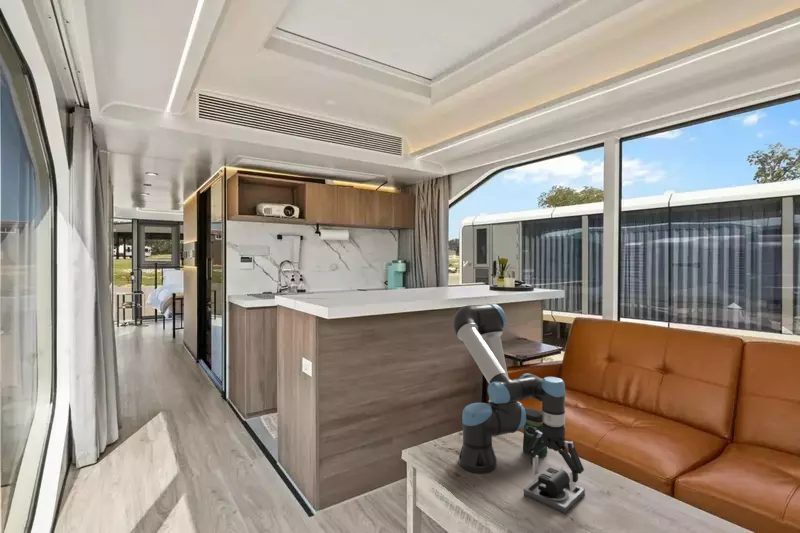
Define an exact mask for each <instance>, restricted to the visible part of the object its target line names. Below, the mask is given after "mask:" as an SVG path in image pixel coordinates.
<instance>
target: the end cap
mask: <svg viewBox="0 0 800 533" xmlns="http://www.w3.org/2000/svg"><path fill="white" fill-rule="evenodd" d="M545 471H546V472H547V473H550V474H551V475H550V474H549V475H546V474H547V473H546V474H544V473H541V474H540V475H538V482H540V483H543V484H545V485H546V486H543V485H542V486H541V485H538V489H539V490H540V491H539V494H540V495H543V496H545V497H547V498H554V497H556V496H557V495H558V494H559V493H560V492H561V491H562V490H563V489H564V488H565V487H567V486H568V485H569V483H570V474H568V473H567V472H566V470H564V469H563V468H560V469H559V470H558V469H554V468H553V467H549V468H547V469H546V470H545Z"/></svg>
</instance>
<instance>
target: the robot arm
mask: <svg viewBox="0 0 800 533" xmlns="http://www.w3.org/2000/svg"><path fill="white" fill-rule="evenodd" d="M452 323H453V324H452V326H453V327H452V328H453V331H454V333H455V335H456V337H457V338H458V340H460V341H462V342H463V344H464V345H465V347H466V349H467V350H468V351H469V354H470V355H471V357H472V358H473V360H474V362H475V363H476V365H477V366H478V369H479V370H480V371H481V374H482V375H483V376H484V378H485V379H486V381H487V383H488V385H487V394H488V398H489V399H488V403H486V402H474V403H473V402H472V403H470V404H468V405H466V406H465V407H464V408H463V410H462V417H461V423H462V446H461V449H460V452H459V455H458V465H459V466H460V468H461V469H463V470H465V471H467V472H469V473H470V472H471V473H474V474H476V473H477V474H487V473H490V472H493V471H494V470H496V468H497V466H498V463H497V462H498V461H497V456H496V454H495V450H494V448H493V437H497V436H501V435H507V434H514V433H516V432H519V431H521V430H524V425H525V423H526V412H525V409H526V408H525V407H524V406H523V403H521V402H520V401H523V400H528V399H535V400H538V402H539V401H540V402H541V411H542V421H543V422H542V432H543V433H542V432H540V430H536V431H535V432H534V436H533V439H532V440H531V442H530V444H529V446H528V448H527V449H526V453H527V455H529V454H530V455H529V456H530V465H531V466H532V476H533V477H536V476H537V475H538V474H539V457H538V456H537V455H536V454H537V453H538V452H540V451H541V450H542V449H543V448H544V447H545V446H547V449H549V450H553V451H555V452H558V453H559V455H560V456H561V457H562V458H563V461H564V462H565V463H566V465H567V467H568V468H569V469H570V471H569V478H570V491H571V492H572V491H573V490H575V485H576V483H578V480H579V474H582V473H583V472H584V471H585V469H584V466H583V464H582V461H581V459H580V456H579V454H578V452H577V450H576V446H575V441H573V440H571V441H567V440H566V437H565V436H566V425H565V424H566V393H567V392H566V384H565V381H564V380H563V379H562V378H560V377H556V376H545V377H544V378H541V377H539V376H538V375H536V374H532V373H529V372H528V373H523V374H522V375H520V376H519V378H513V379H511V378H510V377H509V373H508V369H507V364H506V358H505V353H504V347H503V344H502V343H503V342H502V339H501V336H502V335H503V333H504V331H503V330H504V329H505V327H506V323H507V317H506V313H505V312H504V310H503V308H502V307H501V306H500V305H498V304H497V303H481V304H473V305H472V304H471V305H469V304H468V305H465V306H462V307H460V308H459V309H458V310H457V311H456V313H455V315H454V317H453V321H452ZM540 437H542V439H543V441H544V442H543V443H542V444H541V445H540V446H539V447H538V448H537V449H535V450H534V451H532V450H533V448H534V446H535V444H536V442H537V441H538V439H539V438H540ZM526 453H525V454H526Z"/></svg>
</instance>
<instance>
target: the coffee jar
mask: <svg viewBox="0 0 800 533" xmlns="http://www.w3.org/2000/svg"><path fill="white" fill-rule="evenodd" d="M524 409H525V412H526V423H525V425H524V427H523V440H522V441H523V442H522V451H523V453H525V454H527V453H526V449H527V448H528V446H529V444H530V442H531V440H532V439H533V436H534V432H535V431H536V430H540V432H542V422H543V421H542V410H538V409H535V408H531V407H527V408H524ZM542 433H543V432H542ZM543 442H544V441H543V439H542V437H540V438H539V439H538V441H537V442H536V444H535V446H534V448H533V450H532V451H534V450H535V449H537V448H538V447H539V446H540V445H541V444H542V443H543ZM547 454H548V447H547V446H545V447H544V448H543V449H542V450H541V451H540V452H538V453H537V454H536V455H537V456H538V458H543V457H546V456H547ZM527 455H529V456H530V454H527Z"/></svg>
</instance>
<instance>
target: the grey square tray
mask: <svg viewBox="0 0 800 533" xmlns="http://www.w3.org/2000/svg"><path fill="white" fill-rule="evenodd" d="M543 474H546V475H550V474H548V473H546V472H544V473H543ZM538 485H541V486H542V485H543V486H546V485H545V484H543V483H540V482H538V478H536V479H534V481H532V482H531V483H530V484H529V485H526V487H525V488H524V489H523V496H525V497H527V498H529V499H530V500H533V501H535V502H536V503H537V502H538V503H540V504H541V505H544V506H546V507H548V508H550V509H553V510H554V511H557V512H559V513H562V514H563V515H566V514H567V513H569V511H570V510H571V509H573V507H574V506H575V505H576V504H577V503H578V502H579V501H580V500H581V499H583V498H584V496H585V495H586V492H585V491H586V489H585V488H583V487H582V486H578V485H576V484H575V490H573V491H572V492H571V491H570V483H569V485H568V486H567V487H565V488H564V489H563V490H562V491H561V492H560V493H559V494H558V495H557V496H556V497H554V498H547V497H545V496H543V495H540V494H539V491H540V490H539V489H538Z"/></svg>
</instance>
